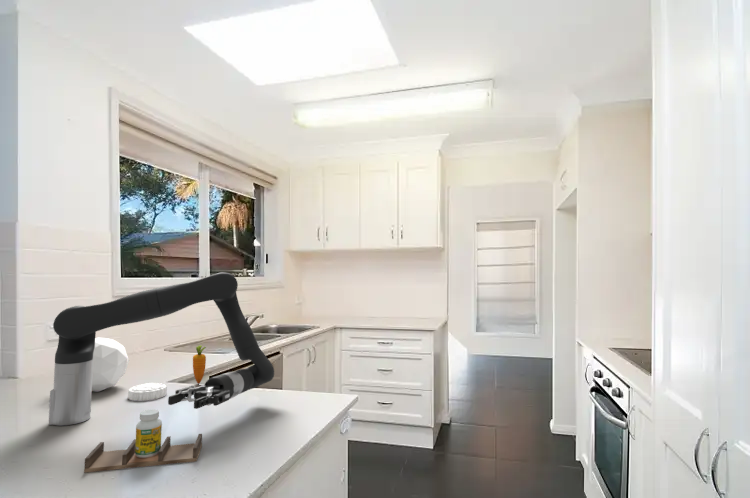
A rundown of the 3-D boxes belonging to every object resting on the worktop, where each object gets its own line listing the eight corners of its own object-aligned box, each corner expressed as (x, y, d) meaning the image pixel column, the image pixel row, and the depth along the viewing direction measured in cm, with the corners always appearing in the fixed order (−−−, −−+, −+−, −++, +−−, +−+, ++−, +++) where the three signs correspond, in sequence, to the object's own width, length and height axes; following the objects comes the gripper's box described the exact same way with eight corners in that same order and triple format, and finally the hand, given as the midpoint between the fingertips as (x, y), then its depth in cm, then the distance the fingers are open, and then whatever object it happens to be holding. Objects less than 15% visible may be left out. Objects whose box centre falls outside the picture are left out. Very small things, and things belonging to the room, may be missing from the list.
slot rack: (84, 472, 92) (84, 458, 92) (99, 455, 100) (99, 442, 101) (196, 461, 98) (197, 447, 98) (202, 445, 106) (202, 433, 106)
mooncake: (174, 392, 153) (174, 382, 154) (150, 402, 142) (150, 391, 142) (145, 390, 156) (145, 381, 156) (119, 400, 144) (119, 389, 144)
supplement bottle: (158, 447, 103) (160, 407, 104) (162, 454, 99) (164, 413, 99) (133, 452, 100) (135, 411, 100) (136, 460, 96) (138, 417, 96)
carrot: (194, 382, 167) (195, 344, 168) (207, 382, 168) (208, 343, 169) (189, 385, 162) (191, 346, 163) (203, 385, 163) (204, 346, 164)
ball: (106, 410, 154) (113, 372, 145) (50, 392, 151) (53, 352, 143) (135, 373, 171) (143, 337, 162) (85, 356, 168) (90, 319, 160)
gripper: (205, 372, 127) (161, 385, 112) (244, 376, 122) (204, 391, 107) (204, 397, 126) (160, 414, 111) (244, 402, 122) (203, 421, 106)
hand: (181, 402), depth 109 cm, fingers open, 8 cm apart
